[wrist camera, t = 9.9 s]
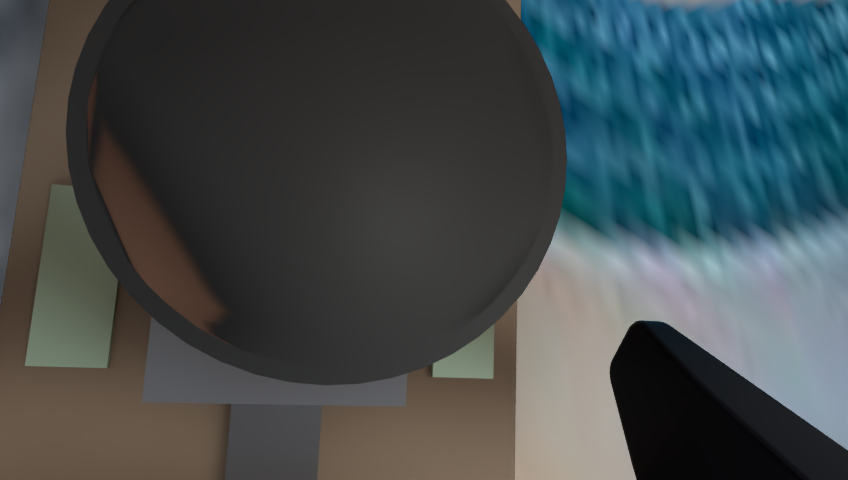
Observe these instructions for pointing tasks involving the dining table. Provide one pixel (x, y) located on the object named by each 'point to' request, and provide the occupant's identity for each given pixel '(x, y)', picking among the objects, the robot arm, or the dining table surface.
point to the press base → (194, 422)
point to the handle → (313, 186)
